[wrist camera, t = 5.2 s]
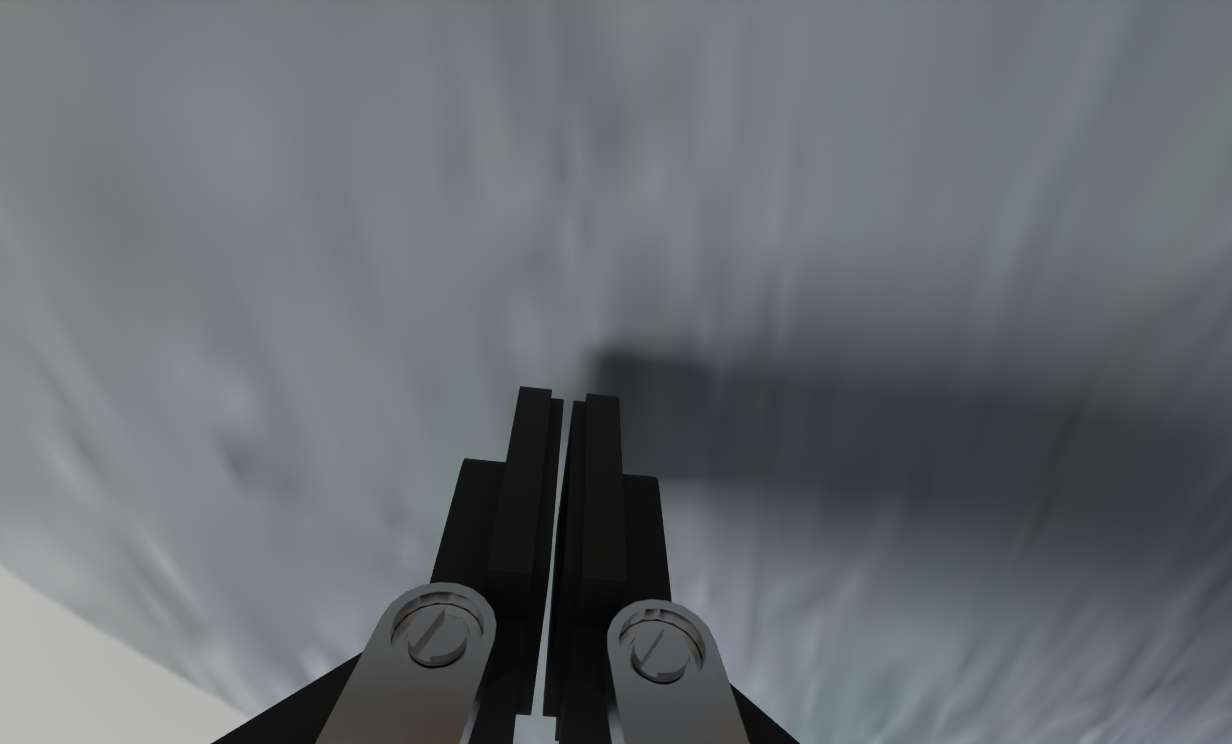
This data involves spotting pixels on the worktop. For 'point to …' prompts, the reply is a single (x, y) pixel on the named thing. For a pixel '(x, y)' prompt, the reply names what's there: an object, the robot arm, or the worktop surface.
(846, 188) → the worktop surface
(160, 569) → the worktop surface
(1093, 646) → the worktop surface
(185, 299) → the worktop surface
